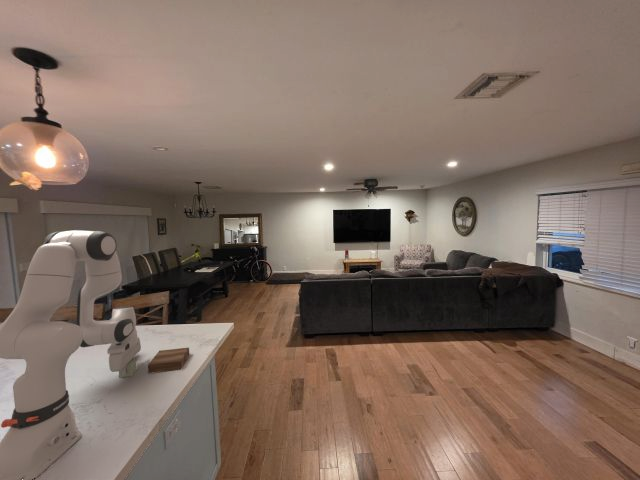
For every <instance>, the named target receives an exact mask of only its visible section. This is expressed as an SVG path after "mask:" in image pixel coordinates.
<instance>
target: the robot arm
mask: <svg viewBox="0 0 640 480" xmlns="http://www.w3.org/2000/svg"><path fill="white" fill-rule="evenodd" d="M117 246H118V245H117V240H116V238H114V236H113V235H112V234H111V233H110V232H106V231H101V230H100V231H99V230H96V231H94V230H82V229H75V230H58V231H54V232H52V233H49V234H48V235H47V236H46V237H45V238H44V240H43V242H42V244H41V245H40V246H39V247H38V248H37V249H36V251H35V252H34V254H33V256H32V259H31V261H30V263H29V266H28V267H27V268H28V269H27V271H26V274H25V278H24V281H23V285H22V289H21V292H20V296H19V298H18V301H17V302H16V305H15V306H14V308H13V309H12V310H11V312H10V314H9V315H8V316H7V318H5V320H4V321H3V322H1V324H0V359H3V360H24V361H25V364H26V365H25V370H24V373H22V375H20V376H19V377H18V378H16V380H15V381H14V383H13V385H12V392H13V393H12V395H13V400H14V408H13V411H12V414H11V418H6V419H4V420H2V421H1V423H0V427H1V428H2V429H3V428H4V429H5V428H7V427H8V428H9V429H8V430H7V431H6V434H4V436H3V438H2V439H1V441H0V480H22V479H23V480H31V479H33V480H35V479H36V478H38V477H39V476H40V475H41V474H43V472H44V471H46V470H47V469H48V468H49V467H50V466H52V464H53V463H54V462H55V461H57V460H58V459H59V458H60V457H61V456H62V455H63V454H65V452H66V451H68V450H69V449H70V448H71V447H72V446H73V445H74V444H75V443H76V442H77V441H78V440H80V439H81V438H82V437H83V435H82V432H81V431H80V430H78V425H77V422H76V418H75V413H74V412H73V410H72V409H71V408H70V405H69V403H70V394H69V391H68V390H67V386H66V385H67V383H66V367H67V364H68V361H69V358H70V357H71V355H73V354H75V352H76V351H77V350H78V349H79V348H89V347H94V346H102V345H109V344H110V346H109V347H108V348H107V350H106V351H107V354H108V355H109V356H108V365H109V370H110V372H112V373H115V372H119V371H121V375H125V374H126V373H127V369H125V367H126V365H127V364H128V363H129V362H130V360H136V356H137V355H138V354H139V352H140V351H141V350H142V349H141V348H142V346H141V345H142V344H141V340H140V337H138V331H137V328H136V326H137V320H136V319H137V317H136V313H135V309H134V307H133V306H131V305H127V306H125V305H124V306H117V307H114V308H113V309H112V312H111V317H110V319H109V320H95V319H94V311H95V310H94V309H95V308H94V307H95V301H96V300H97V299H98V298H101V297H102V296H105V295H107V294H109V293H111V292H113V291H115V290H116V289H117V288H119V286H120V285H121V283H122V280H123V279H122V278H123V275H122V268H121V262H120V259H119V255H118V253H117ZM78 261H79V262H81V261H83V262H84V267H85V269H84V270H85V277H86V279H85V283H84V285H82V286H81V287H80V288H79V290H78V295H77V299H76V300H77V302H76V303H77V304H76V319H75V320H76V321H75V323H76V324H75V323H71V322H67V321H62V320H60V321H59V320H58V321H56V320H53V321H51V319H52V317H53V315H54V314H55V313H56V311H57V310H58V309H60V308H61V307H62V306H65V305H66V304H67V303H68V302H69V300H70V297H71V292H72V288H73V282H74V279H75V278H74V277H75V272H76V265H77V262H78ZM34 478H35V479H34Z"/></svg>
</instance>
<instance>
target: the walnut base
mask: <svg viewBox="0 0 640 480" xmlns="http://www.w3.org/2000/svg"><path fill="white" fill-rule="evenodd" d="M189 356H190V347H180V348H173V349H162V350H158V352H157V353H156V354H155V356H154V357H153V358H152V359H151V360H150V362H149V363H147V373H148V374H154V373H163V372H170V371H178V370H182V369H183V367H184V365H185V364H186V361H187V360H188V358H189Z"/></svg>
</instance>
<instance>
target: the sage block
mask: <svg viewBox="0 0 640 480" xmlns="http://www.w3.org/2000/svg"><path fill="white" fill-rule="evenodd" d="M125 369H127V373H126V374H125V375H121V371H118V378H126V377H132V376H133V375H134V374H135V372H137V370H138V368H137V359H135V360H130V362H129V363H128V364H127V365H126V367H125Z"/></svg>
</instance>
